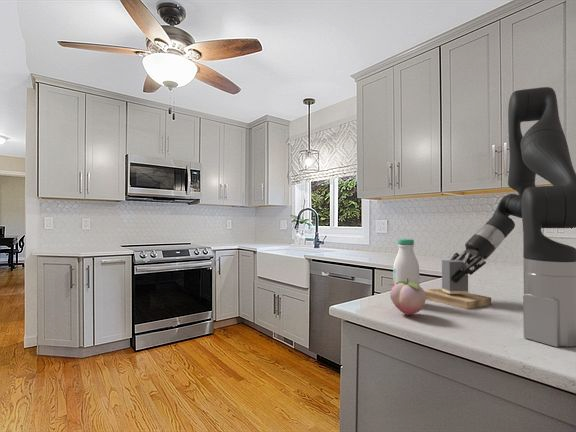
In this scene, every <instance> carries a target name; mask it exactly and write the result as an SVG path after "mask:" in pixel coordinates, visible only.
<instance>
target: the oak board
mask: <svg viewBox="0 0 576 432" xmlns="http://www.w3.org/2000/svg"><path fill="white" fill-rule="evenodd" d="M423 290H424V292H425V294H426V300H429V299H430V301H434V302H437V301H438V302H439V303H441V304H446V305H451V306H454V307H457V308H462V309H465V310H468V309H474V308H479V307H484V306H489V305H492V297H490V296H486V295H485V296H484V295H480V294H476V293H471V292H468V294H449V293H446V292H444V291H442V287H436V288H430V289H423Z"/></svg>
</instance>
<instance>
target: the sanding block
mask: <svg viewBox="0 0 576 432" xmlns="http://www.w3.org/2000/svg"><path fill="white" fill-rule="evenodd" d="M467 264H468V263H467ZM462 265H463V261H460V260H451V259H444V260H441V288H442V291H444V292H446V293H449V294H468V293H469V274H467V275H464V276H463V277H462V278H461V279H460V280H459V282H458V283H455V282H453V281H452V280H451V277H452V276H453V275H454V274H455V273H456V272H457V271H458V270H459V269H460V267H461V266H462Z"/></svg>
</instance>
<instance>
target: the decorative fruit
mask: <svg viewBox="0 0 576 432" xmlns="http://www.w3.org/2000/svg"><path fill="white" fill-rule="evenodd" d="M424 290H425V289H424V288H423V287H422V286H421V285H420V286H419V285H417V284H416V283H409V282H408V278H407V282H406V281H399V282H397V283H396V285H395V286H394V287H393V286H392V288H391V290H390V295H389V296H390V299H391V301H392V303H393V305H394V307H396V308H397V310H399V311H400V312H402V314H404V315H406V316H411V315H414V314H416V313H419V312H420V311H421V310H422V309H423V308H424V306H425V303H426V301H427V299H426V294H425V292H424Z"/></svg>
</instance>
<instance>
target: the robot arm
mask: <svg viewBox="0 0 576 432" xmlns="http://www.w3.org/2000/svg"><path fill="white" fill-rule="evenodd" d="M507 110H508V111H507V119H508V120H507V121H508V122H507V124H508V125H507V126H508V130H507V131H508V133H507V134H508V148H509V164H508V165H509V166H508V178H507V185H508V187H509V188H511V189H512V190H513V191H516V192H517V194H516V193H509V194H508V193H507V194H506V195H504V196H503V197H502V198H501V199H500V201H499V202H498V204H497V207H495V210H494V213H493V215H492V216H491V218H489V219H488V220H487V222H485V224H484V225H483V226H481V227H479V229H478V230H477V231H476V232H475V233H474V234H473V235H472V236H471V237H470V238H469V239H468V240H467V241H466V243H465V245H464V246H465V250H463V251H462V252H461V253H459V252H455V253H454V254H453V256H452V257H451V258H450V260H460V261H463V265H462V266H461V267H460V269H459V270H458V271H457V272H456V273H455V274H454V275H453V276H452V277H451V280H452V281H453V282H455V283H458V282H459V280H460V279H461V278H462V277H463V276H464V275H467V274H468V275H473V274H474V273H475V272H477V271H478V270H479V269H480V268H482V267H483V266H484V265H486V264H487V262H486V261H485V260H487V259H488V258H489V257H491V255H492V254H493V253H494V252H495V251H496V250H497V249H498V248H499V246H501V244H502V243H503V241H504V240H505V238H507V237H508V236H509V235H510V233H511V232H512V231H513V230H514V229H515V227H516V223H515V221H514V220H513V219H512V218H510V217H511V216H514V217H516V218H519V219H521V221H522V233H523V235H522V238H523V239H522V240H523V243H522V244H523V246H522V247H523V248H522V249H523V250H522V251H523V252H522V253H523V255H522V257H523V258H522V259H523V260H522V262H523V264H522V265H523V272H522V273H523V296H522V299H523V301H522V303H523V306H522V309H523V310H522V311H523V312H522V313H523V318H522V319H523V323H522V324H523V338H525V339H528V340H531V341H534V342H537V343H542V344H546V345H549V346H552V347H556V348H558V347H576V247H574V246H571V245H569V244H564V243H561V242H558V241H556V240H553V239H551V238H549V237H547V236H546V235H545V234H543V231H542V229H574V228H576V171H575V169H574V166H573V162H572V158H571V153H570V149H569V145H568V142H567V139H566V136H565V135H566V134H565V133H564V129H563V126H562V124H561V120H560V114H559V107H558V100H557V94H556V91H555V90H554V88H552V87H550V86H545V87H544V86H543V87H541V86H540V87H534V88H527V89H526V88H525V89H524V88H523V89H520V90H515V91H513V92H512V93H511V95H510V97H509V101H508V109H507ZM535 121H536V122H535ZM524 122H535V123H534V124H533V125H531V127H529V128H528V130H527V131H526V132H525V133H524V134H523V133H522V129H521V123H524ZM537 175H538V176H539V177H540V178H542V179H544V180H546V181H547V182H549V184H551V185H547V186H546V185H544V186H543V185H542V186H536V176H537ZM509 216H510V217H509ZM467 263H468V264H467Z"/></svg>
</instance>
